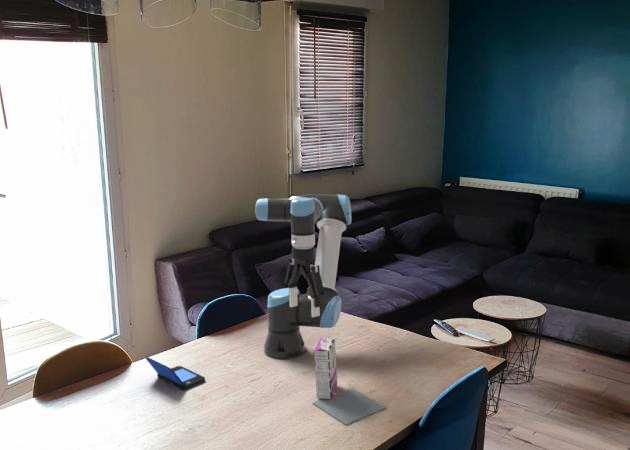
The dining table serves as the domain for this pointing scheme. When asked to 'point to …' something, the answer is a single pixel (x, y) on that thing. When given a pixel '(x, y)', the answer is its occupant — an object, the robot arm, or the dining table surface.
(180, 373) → the handheld game console
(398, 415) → the dining table surface
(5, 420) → the dining table surface
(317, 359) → the candy bar box
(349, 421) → the mat
